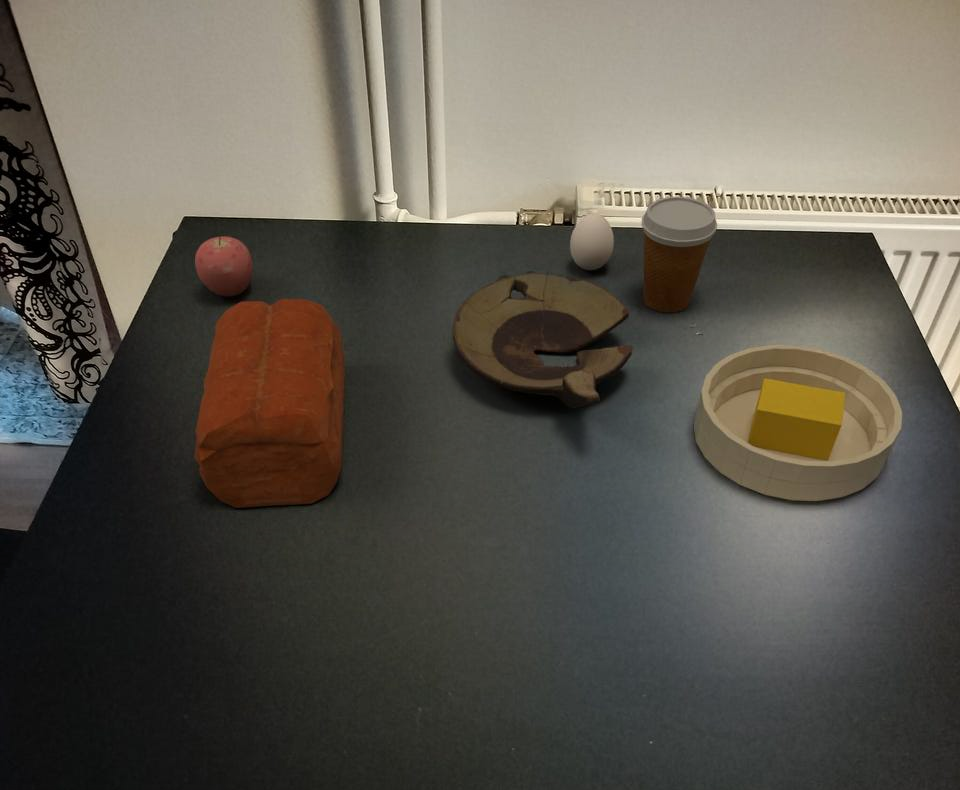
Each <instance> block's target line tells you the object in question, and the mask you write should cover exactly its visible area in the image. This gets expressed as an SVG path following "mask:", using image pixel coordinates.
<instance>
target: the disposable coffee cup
mask: <svg viewBox="0 0 960 790" xmlns="http://www.w3.org/2000/svg"><path fill="white" fill-rule="evenodd" d="M641 226H642V230H643V280H642V281H643V283H642V284H643V285H642V287H643V289H642V291H643V293H642V299H643V302H644V304H645V305H646V306H647V307H648V308H649V309H651V310H654V311H656V312H661V313H677V312H681V311H683V310H685V309H686V308H687V307H688V306H689V305H690V302H691V299H692V296H693V292H694V290H695V287H696V284H697V281H698V278H699V275H700V271H701V269H702V266H703V263H704V260H705V257H706V253H707V250H708V247H709V244H710V241H711V239H712V237H713V236H714V234H715V233H716V231H717V229H718V221H717V220H716V211H715V210H714V209H713V207H712V206H711V205H709V204H708V203H706V202H705V201H702V200H699V199H696V198H692V197H687V196H667V197H662V198H659V199H656V200H654V201H653V202H651V203H650V204H649V205H648V207H647V208H646V210H645V213H644V214H643V215H642V217H641Z"/></svg>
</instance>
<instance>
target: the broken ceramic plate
mask: <svg viewBox="0 0 960 790" xmlns="http://www.w3.org/2000/svg"><path fill="white" fill-rule="evenodd" d="M513 291H516V292H517V293H521V294H522V295H523V296H522V298H513V297H512V293H513ZM629 316H630V313H629V309H628V308H627V307H626V306H624V304H623V302H622V300H620V299H618V297H617V296H615V295H614V294H611V292H609V291H608V290H607V289H605V288H604V287H602V286H600V285H598V284H596V283H593V282H591V281H588V280H585V279H581V278H577V277H576V278H575V277H570V276H568V275H566V276H563V275H562V274H556V273H555V274H552V273H551V274H550V273H548V272H547V273H541V272H537V271H533V270H529V271H527V272H525V273H522V274H519V275H506V274H503V275H500V276H499V277H498V278H497V279H496V281H494V282H491V283H489V284H487V285H485V286H483V287H481V288H480V289H478V290H477V291H475V292H474V293H472V294H471V295H470V296H469V297H468V298H466V299H465V300H464V301H463V303H462V304H461V305H460V306H459V308H458V309H457V312H456V313H455V316H454V319H453V321H452V327H451V328H452V331H451V332H452V338H453V343H454V347H455V350H456V352H457V354H458V356H459V358H460V359H461V360H462V362H463V363H464V364H465V366H466V367H467V368H468V369H469V370H470V371H472V372H473V373H474V374H476V375H477V376H479V377H480V378H482V379H483V380H485V381H487V382H489V383H492V384H493V385H496V386H498V387H501V388H504V389H506V390H510V391H515V392H518V393H525V394H533V395H541V396H553V397H554V396H555V397H556V398H558V399H559V400H560V401H561V402H563V404H564V405H566V406H567V407H569V408H581V407H584V406H591V405H594V404H598V403H599V402H601V401H600V400H601V398H600V395H599V393H598V392H597V391H596V386H597V385H598V384H600V383H602V382H604V381H606V380H608V379H609V378H611V377H613V376H614V375H615V374H617V373H618V372H620V370H621V369H622V368H623V367H624V366H625V365H626V363H627V362H628V361H629V359H630V358H631V356H632V353H633V350H634V347H633V345H629V344H628V345H627V344H626V345H622V346H620V345H617V346H615V347H603V348H600V349H598V348H596V349H585V348H586V347H588V346H590V345H591V344H592V343H594V342H596V341H598V340H600V339H601V338H602V337H604V336H605V335H607V334H609V333H610V332H611V331H612V330H614V329H615V328H617V327H618V326H620V325H621V324H622V323H623V322H624V321H626V320H627V319H628V318H629ZM581 349H583V350H581ZM535 352H541V353H554V354H567V353H568V354H569V353H571V352H573V353H575V352H576V362H577V365H574V366H568V365H567V363H566V361H565V360H563V362H564V366H557V365H553V366H551V365H544V364H543V362H542V360H541V359H540V357H538V355H536V353H535Z"/></svg>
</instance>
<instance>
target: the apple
mask: <svg viewBox="0 0 960 790" xmlns="http://www.w3.org/2000/svg"><path fill="white" fill-rule="evenodd" d="M194 267H195V270H196V274H197V276H198V278H199V279H200V281H201V282H202V284H203V285H204V286H205V287H206V288H207V289H208V290H209V291H211V292H212V293H214V294H216V295H218V296H220V297H229V298H230V297H235V296H238V295H241V294H242V293H243V292H244V291H245V290H246V289H247V287H248V286H249V285H250V282H251V280H252V276H253V270H254V269H253V261H252V257H251V254H250V251H249V249H248V247H247V246H246V245H245V244H244V243H243V242H242V241H241V240H239V239H237V238H234V237H232V236H216V237H212V238H209V239H207V240H205V241H204V242H203V243H202V244H200V246H199V247H198V249H197V250H196V253H195V257H194Z"/></svg>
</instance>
